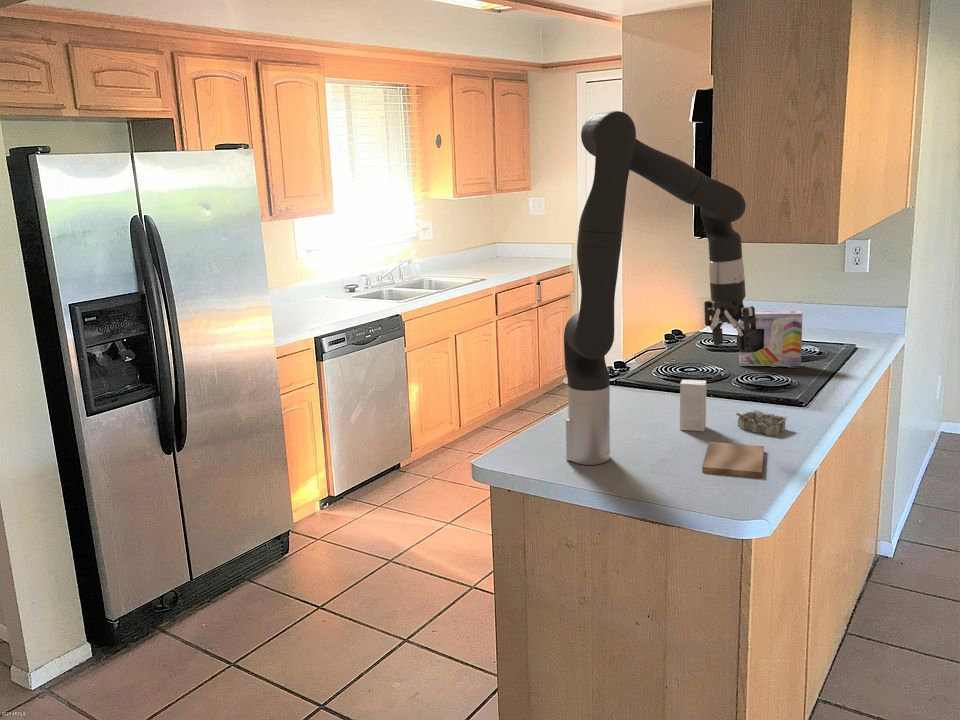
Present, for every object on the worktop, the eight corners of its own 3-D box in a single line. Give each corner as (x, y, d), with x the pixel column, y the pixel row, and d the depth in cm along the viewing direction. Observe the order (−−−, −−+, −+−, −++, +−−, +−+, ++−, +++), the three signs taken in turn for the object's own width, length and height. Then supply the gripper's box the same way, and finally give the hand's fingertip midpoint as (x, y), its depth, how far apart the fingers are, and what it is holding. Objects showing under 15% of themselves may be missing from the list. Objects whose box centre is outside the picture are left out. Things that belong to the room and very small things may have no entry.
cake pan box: (735, 367, 251) (737, 312, 247) (735, 363, 256) (737, 308, 251) (801, 369, 245) (804, 312, 241) (799, 365, 250) (803, 309, 246)
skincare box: (705, 426, 198) (707, 380, 195) (704, 432, 194) (705, 385, 192) (680, 424, 200) (681, 378, 197) (679, 430, 197) (679, 383, 194)
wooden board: (702, 472, 170) (702, 466, 170) (708, 446, 185) (709, 441, 185) (761, 477, 166) (761, 472, 166) (763, 451, 181) (764, 446, 180)
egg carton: (733, 428, 197) (733, 412, 196) (749, 421, 202) (750, 405, 201) (773, 438, 189) (774, 421, 188) (789, 430, 194) (790, 414, 193)
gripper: (692, 279, 184) (697, 346, 188) (736, 285, 172) (740, 357, 176) (718, 272, 187) (722, 339, 191) (763, 278, 174) (766, 349, 179)
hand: (731, 347), depth 184 cm, fingers open, 8 cm apart
